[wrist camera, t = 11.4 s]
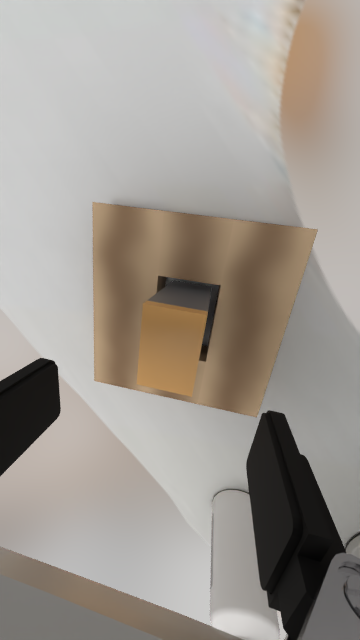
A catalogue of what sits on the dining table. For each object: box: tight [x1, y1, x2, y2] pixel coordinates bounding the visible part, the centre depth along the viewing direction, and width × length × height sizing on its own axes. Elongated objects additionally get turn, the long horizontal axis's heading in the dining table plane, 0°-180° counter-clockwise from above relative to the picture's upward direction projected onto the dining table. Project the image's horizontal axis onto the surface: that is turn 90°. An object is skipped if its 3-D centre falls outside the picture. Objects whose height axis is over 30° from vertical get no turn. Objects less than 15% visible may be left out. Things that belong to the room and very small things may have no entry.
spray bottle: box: [210, 490, 280, 640], centre depth 23 cm, size 7×7×18 cm
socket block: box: [93, 202, 317, 417], centre depth 21 cm, size 18×18×4 cm
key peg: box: [137, 280, 212, 397], centre depth 18 cm, size 4×6×10 cm, turn 173°
